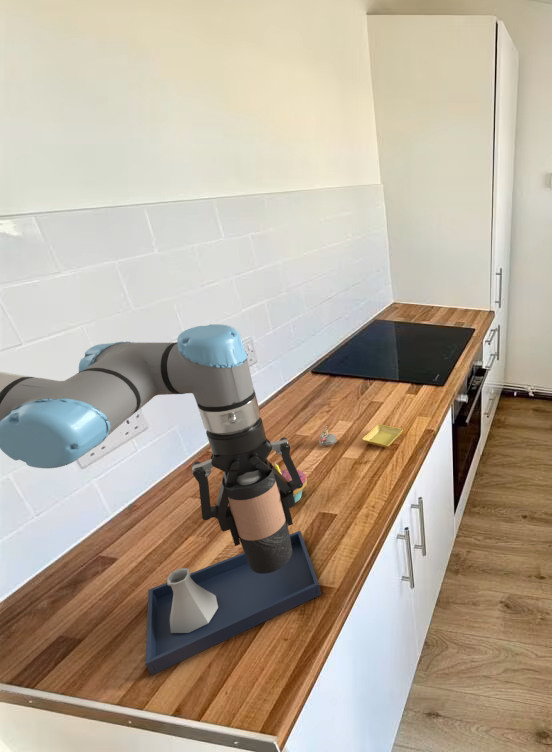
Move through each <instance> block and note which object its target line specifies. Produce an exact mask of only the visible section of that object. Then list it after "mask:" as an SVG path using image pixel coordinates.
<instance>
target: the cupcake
mask: <svg viewBox="0 0 552 752" xmlns="http://www.w3.org/2000/svg"><path fill="white" fill-rule="evenodd" d="M273 465H274V468H275V469H276V470H277V471H278V472H279V473H280V474H282V475H283V476H284V477H285V478H286V479H287V480H288V481H291V480H292V478H291V476H290V474H289V472H288V470H287V468H286V469H283V470H281V469H280V467H279V464H276V462H274V464H273ZM297 471H298V474H299V476H300V478H301V481H302V483H303V486H302V487H301V488H299V489H295V490H294V492H293V493H294V500H295V504H296V503H297V502H299V501H300V500H301V498H302V494H303V490H304V489H305V488H306V486H307V485H308V478H307V475H306V474H305V472H304V471H302V470H300V469H297ZM279 489H280V488H279Z"/></svg>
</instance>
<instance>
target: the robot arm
mask: <svg viewBox="0 0 552 752" xmlns="http://www.w3.org/2000/svg"><path fill="white" fill-rule="evenodd" d="M242 340H243V339H242V337H241V334H240V332H239V331H238V329H236V328H235V327H233V326H230V325H227V324H218V323H216V324H215V323H214V324H208V325H198V326H194V327H193V326H192V327H191V328H187V329H185V330H184V331H182V332H181V333H179V334H178V336H177V339H176V342H134V341H118V342H117V341H116V342H110V343H109V342H107V343H99V344H95V345H93V346H91V347H90V348H88V349H87V350H86V351H85V352H84V357H82V358H81V359H80V360H79V363H78V372H77V373H75V374H74V375H72V376H71V377H69V378H67V379H64V380H55V379H49V378H42V377H35V376H28V375H23V374H17V373H11V372H4V371H0V450H1V451H2V452H3V453H4V454H5V455H7V457H9V458H10V459H12V460H13V461H20V462H23V463H25V464H26V466H28V467H32V468H37V469H57V468H61V467H65V466H68V465H70V464H72V463H74V462H76V461H77V460H79V459H80V458H82V457H83V456H85V455H86V454H87V453H89V452H90V451H92V450H93V449H94V448H97V447H98V446H100V445H101V444H102V443H104V441H105V440H106V439H107V438H108V436H110V434H112V433H113V432H114V431H115V430H116V429H118V428H119V427H120V426H121V425H122V424H123V423H124V422H126V421H127V420H128V419H129V418H130V417H131V416H133V415H134V414H136V413H137V412H138V411H139V410H140V409H141V408H143V407H144V406H145V405H146V404H147V403H149V402H150V401H151V400H152V399H153V398H155V397H156V396H161V395H162V396H164V395H165V396H166V395H185V394H192V395H193V397H194V399H195V403H196V405H197V409H198V412H199V415H200V418H201V421H202V424H203V427H204V428H203V429H205V430H206V431H205V434H206V437H207V440H208V444H209V446H210V450H211V455H210V459H207V460H205V461H203V462H201V461H194V462H193V463H192V465H191V467H192V468H191V469H192V476H193V477H194V478H195V480H196V482H197V483H198V490H199V499H200V509H201V518H202V520H203V521H209V520H211V519H217V521H218V524H219V527H220V530H221V531H222V532H223V533H225V532H227V531H230V535H231V538H232V541H233V544H234V547H237V546H239V545H241V542H240V539H239V536H238V534H237V530H236V527H235V524H234V520H233V517H232V513H231V510H230V507H229V500H228V496H227V493H226V490H225V487H227V488H231V487H233V485H234V483H235V480H236V477H238V476H241V475H244V474H245V473H247V472H254V471H257V470H260V471H261V472H262V473H263V474H265V475H266V476H269V475H270V473H271V471H272V466H271V464H272V463H271V462H270V461H269V460H268V457H269V455H270V454H271V452H272V451H275V453H276V454H277V455H279V456H281V458H282V461H283V463H284V465H285V467H286V469H287V470H288V472H289V474H290V476H291V478H292V480H291V481H288V480H287V479H286V478H285V477H284V476H283V475H282V474H280V473H279V472H278V471H277V470H276V468H275V466H273V468H274V476H275V480H276V484H277V487H278V488H280V489H279V491H280V495H281V499H282V503H283V507H284V511H285V515H286V519H287V524H288V527H289V526H292V525H293V524H294V523H293V518H292V513H291V510H290V508H293V507H295V506H296V503H295V500H294V493H293V492H294V490H295V489H299V488H301V487H302V486H303V483H302V481H301V478H300V476H299V474H298V471H297V470H298V469H297V467H296V464H295V463H294V460H293V458H292V456H291V445H290V443H289V440H288V438H287V437H286V436H285V437H281V438H280V439H279V440H276V441H271V440H269V439H268V438H267V435H266V430H265V426H264V423H263V419H262V417H261V410H260V407H259V402H258V398H257V394H256V391H255V388H254V383H253V380H252V375H251V370H250V365H249V361H248V359H249V358H248V353H247V351H246V349H245V346H244V343H243V341H242ZM269 462H270V463H271V464H270V463H269ZM213 468H216V469H218V470H219V471H222V472H223V476H222V479H223V478H224V486H223V484H222V483H221V484H220V488H219V492H218V496H217V499H216V503H215V504H214V505H212V506H211V497H210V496H211V495H210V485H209V478H208V477H209V476H210V475H211V474H212V469H213Z"/></svg>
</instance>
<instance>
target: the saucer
mask: <svg viewBox="0 0 552 752" xmlns="http://www.w3.org/2000/svg"><path fill="white" fill-rule="evenodd" d="M403 431H404V429H402V428H399V427H395V426H390V425H386V424H381V423H378V424H376V425H375V426H374V427H373V428H372V429H371V430H370V431H368V433H367V434H365V435H364V436H363V437H362V438H361V440H362V442H364V443H367V444H369V445H373V446H376V447H382V448H385V449H387V448H389V447H390V446H391V445H392V444H393V443H394V442H395V441H396V439H397V438H398V437H400V435H402V433H403Z"/></svg>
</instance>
